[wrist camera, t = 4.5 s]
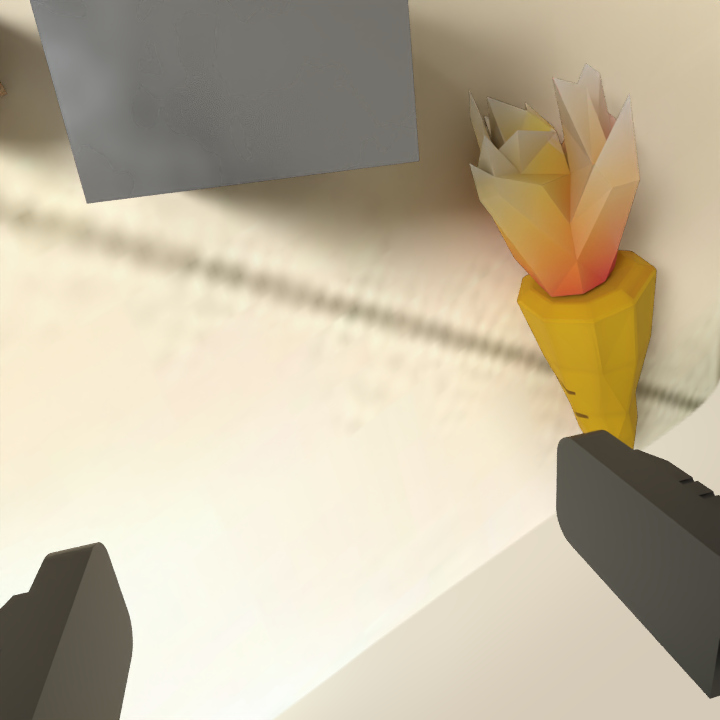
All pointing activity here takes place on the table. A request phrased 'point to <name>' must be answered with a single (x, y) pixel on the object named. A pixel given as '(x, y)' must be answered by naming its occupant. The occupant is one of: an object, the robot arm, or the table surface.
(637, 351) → the torch
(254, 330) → the table surface
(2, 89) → the walnut block
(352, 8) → the box
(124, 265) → the table surface
